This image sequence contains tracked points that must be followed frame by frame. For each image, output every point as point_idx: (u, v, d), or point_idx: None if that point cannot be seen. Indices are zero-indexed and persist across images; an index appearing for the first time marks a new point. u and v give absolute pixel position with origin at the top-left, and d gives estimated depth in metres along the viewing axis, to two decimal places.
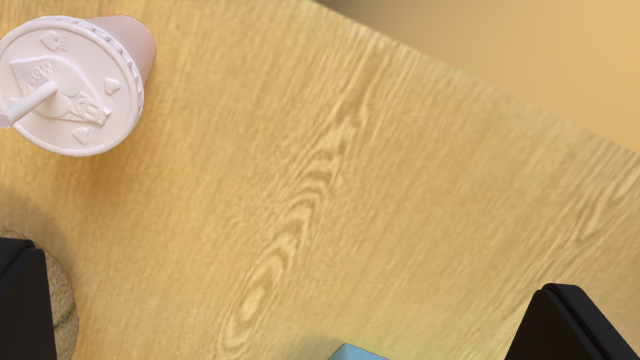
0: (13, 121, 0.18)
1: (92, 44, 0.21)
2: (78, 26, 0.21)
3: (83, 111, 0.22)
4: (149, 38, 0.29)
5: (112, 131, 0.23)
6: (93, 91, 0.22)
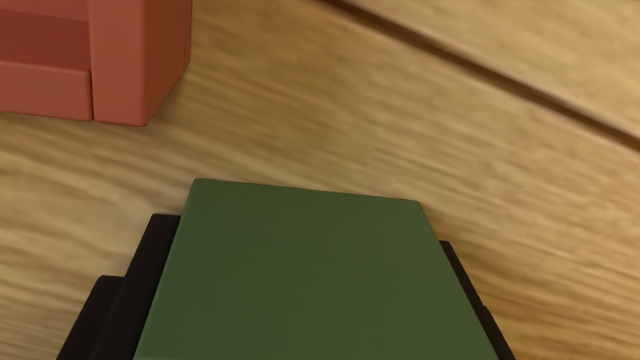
0: None
1: None
2: None
3: None
4: None
5: None
6: None
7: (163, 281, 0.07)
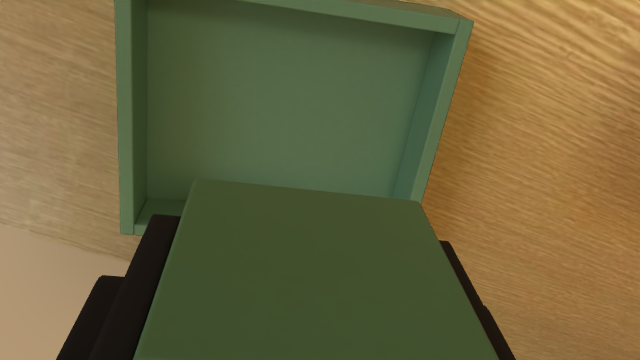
0: None
1: None
2: None
3: None
4: None
5: None
6: None
7: (163, 281, 0.07)
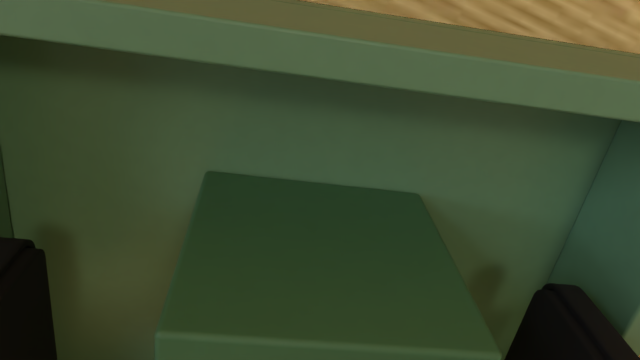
0: None
1: None
2: None
3: None
4: None
5: None
6: None
7: (180, 264, 0.07)
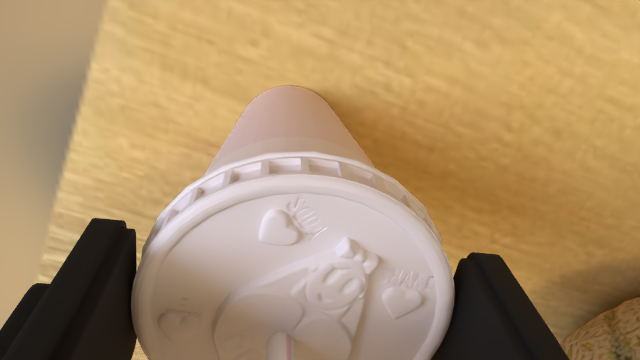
0: None
1: (176, 254, 0.09)
2: (137, 275, 0.09)
3: (339, 295, 0.09)
4: (266, 96, 0.16)
5: (398, 241, 0.09)
6: (292, 267, 0.09)
7: None
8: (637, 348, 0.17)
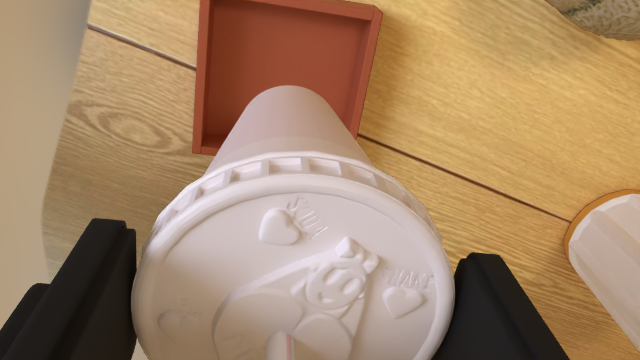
0: None
1: (176, 254, 0.09)
2: (137, 274, 0.09)
3: (340, 295, 0.09)
4: (266, 96, 0.16)
5: (398, 241, 0.09)
6: (292, 267, 0.09)
7: None
8: None
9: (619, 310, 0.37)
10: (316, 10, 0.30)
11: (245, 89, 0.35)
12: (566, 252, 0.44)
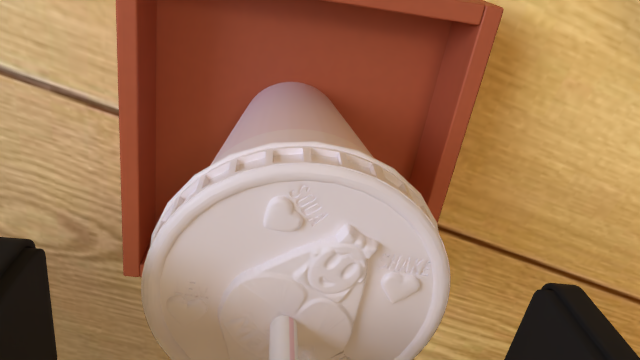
0: None
1: (184, 239, 0.09)
2: (147, 259, 0.09)
3: (340, 279, 0.10)
4: (269, 92, 0.16)
5: (396, 228, 0.09)
6: (295, 252, 0.09)
7: None
8: None
9: None
10: (365, 4, 0.14)
11: None
12: None
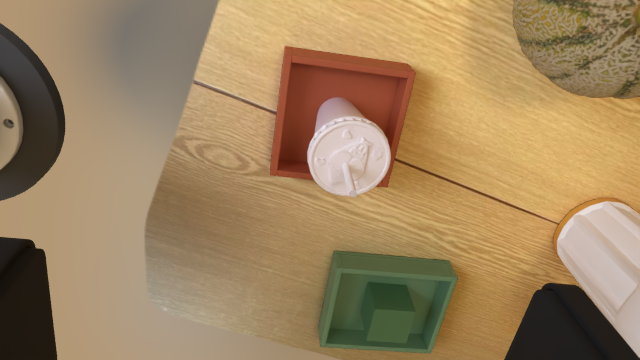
0: (354, 189, 0.33)
1: (322, 141, 0.36)
2: (312, 146, 0.36)
3: (361, 152, 0.36)
4: (330, 101, 0.43)
5: (375, 138, 0.36)
6: (349, 145, 0.36)
7: (373, 300, 0.52)
8: None
9: (595, 292, 0.48)
10: (367, 72, 0.41)
11: (308, 126, 0.46)
12: (555, 248, 0.55)
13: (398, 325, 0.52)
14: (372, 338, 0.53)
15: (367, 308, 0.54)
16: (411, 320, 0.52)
